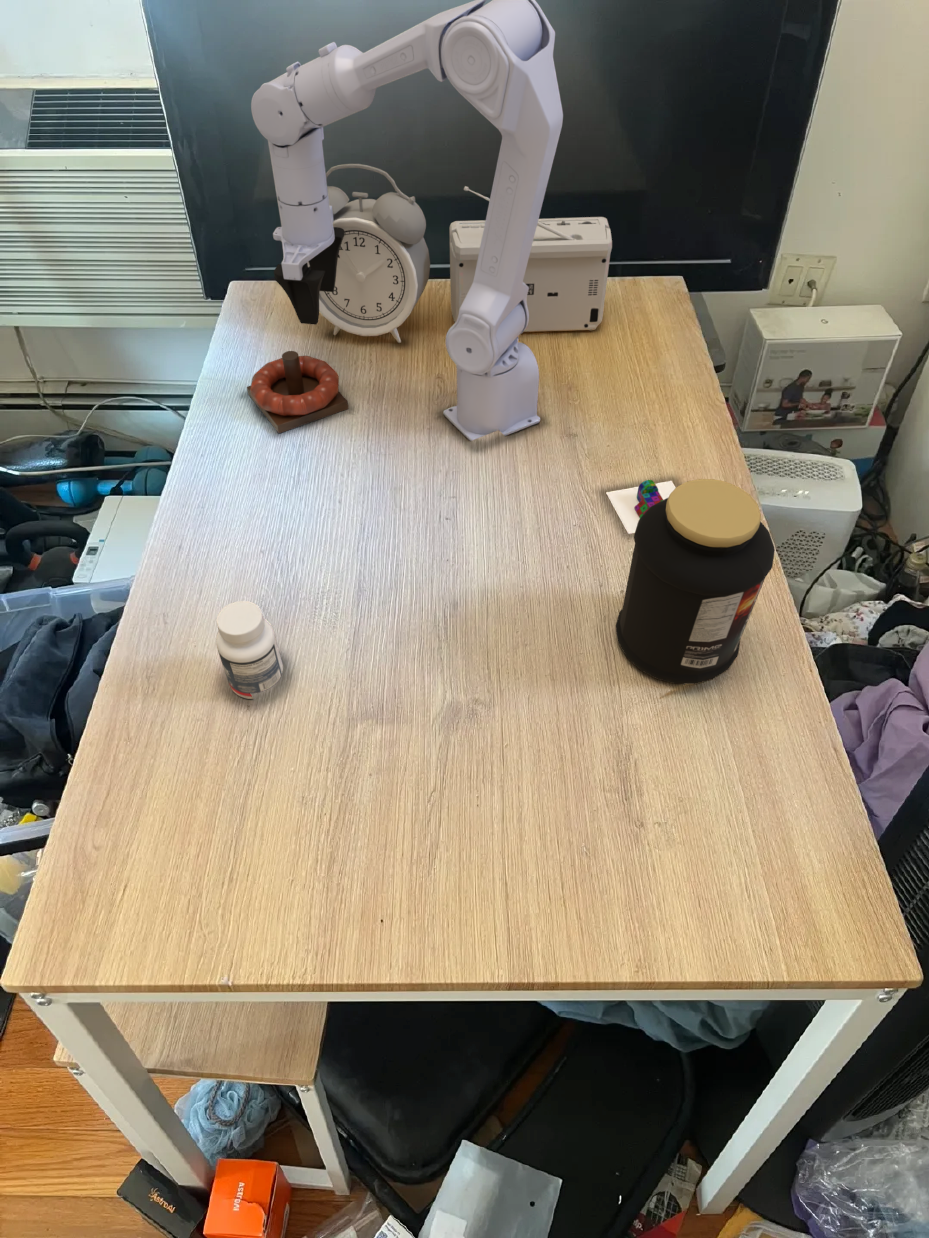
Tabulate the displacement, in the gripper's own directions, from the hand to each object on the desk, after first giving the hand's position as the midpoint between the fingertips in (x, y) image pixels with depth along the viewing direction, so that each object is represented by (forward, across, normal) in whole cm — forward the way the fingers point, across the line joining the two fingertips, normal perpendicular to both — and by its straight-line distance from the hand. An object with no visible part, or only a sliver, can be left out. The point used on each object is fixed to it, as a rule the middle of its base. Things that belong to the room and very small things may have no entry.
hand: (317, 306), depth 112 cm
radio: (+10, -16, +24) cm, 31 cm away
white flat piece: (+10, +20, +43) cm, 48 cm away
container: (+10, +40, +46) cm, 61 cm away
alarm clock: (+10, -11, +4) cm, 15 cm away
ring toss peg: (+9, +7, -2) cm, 12 cm away
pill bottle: (+10, +50, +7) cm, 51 cm away
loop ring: (+7, +7, -2) cm, 10 cm away
